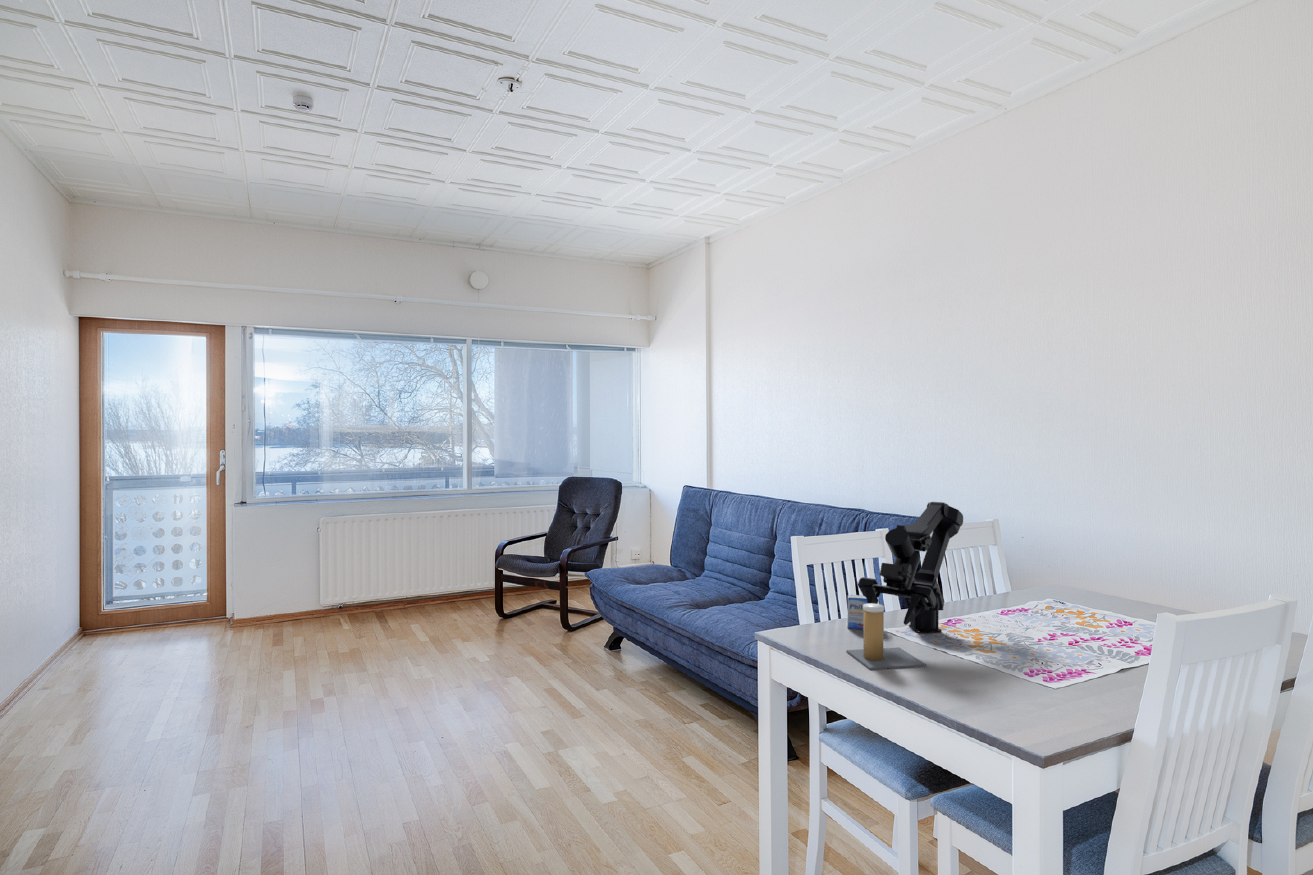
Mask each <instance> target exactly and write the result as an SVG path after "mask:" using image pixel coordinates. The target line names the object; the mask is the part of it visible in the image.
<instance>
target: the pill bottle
mask: <svg viewBox="0 0 1313 875" xmlns="http://www.w3.org/2000/svg"><path fill="white" fill-rule="evenodd" d="M863 610H864V629H863V649H864V653H863V657H864V658H865V659H867V660H872V661H880V660H883V648H884V630H885V628H884V626H885V625H884V622H885V621H884V620H885V619H884V616H885V615H884V612H885V605H883V604H880V603H878V604H873V603H869V604H864V605H863Z"/></svg>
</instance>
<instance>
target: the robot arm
mask: <svg viewBox="0 0 1313 875" xmlns="http://www.w3.org/2000/svg"><path fill="white" fill-rule="evenodd" d="M963 524H964V515H963V513H962V512H961V511H960V510H959V509H958V508H955V507H953V506H950V505H949V504H948V503H946V502H942V501H941V502H940V501H930V502H928V503H927V504H926V508H925V509H924V510H923V512H922V513H921V514H920V515H919V517H918V518H917V519H916V521H915V522H914V523H911V524H907V525H902V524H897V525H896V527H894V528H892V529H891V530H889V531H888V532H887V533H886V534H885V536H884V537H885V542H886V544H887V546H888V548H889V550H890V552H891V555H892V556H893V557H895V560H894V562H893V563H888V562H881V566H880V571H879V576H880V577H882V578H883V579H882V581H883V583H885V584H886V585H883V584H878V582H877V580H876V578H872V577H871V578H870V577H865V576H864V577H863V576H862V577H861V578H860V579H859V580H858V582H857V586H858V589H859V590H860V592H861V594H862V596H865V597H866V598H867V604H869V603H873V604H879V601H880V600H879V598H880V595H881V594H886V595H891V596H896V597H903V598H905V601H906V606H907V607H908V608H907V611H906V614H905V616H904V619H903V624H904V626H907V625H908V627H909V628H911V629H912V630H914V631H916V632H918V633H920V634H924V633H942V631H943V630H942V629H941V628H939V612H940V611H944V606H945V599H944V597H943V595H942V592H941V587H940V585H939V583H938V577H939V573H940V571H941V567H942V564H943V561H944V557H945V554H946V551H947V548H948V545H949V542H950V539H952V538H953V537H954V536H956V535H957V534H958V533H959V531H960V529H961V527H963ZM919 552H924V553H925V554H924V557H923V561H922V562H921V555H920V553H919ZM919 566H920V570H919V571H917V569H918V567H919Z"/></svg>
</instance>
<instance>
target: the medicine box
mask: <svg viewBox="0 0 1313 875" xmlns="http://www.w3.org/2000/svg"><path fill="white" fill-rule="evenodd" d="M864 604H867V598H866V597H865V596H863V595H860V594H848V595H847V629H848V630H849V629H850V630H851V629H852V630H864V610H863V605H864Z"/></svg>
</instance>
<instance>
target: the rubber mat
mask: <svg viewBox="0 0 1313 875" xmlns="http://www.w3.org/2000/svg"><path fill="white" fill-rule="evenodd" d="M845 652H846V654H848V655H849V656H851V657H852V658H853V659H855V660H856V661H857V662H858V663H860V664H862V665H863V666H864V667H865V668H866V669H868V670H870V671H872V670H873V671H874V670H888V669H887V668H892V669H903V668H904V669H906V668H909V669H910V668H923V667H927V663H924V661H922V660H920V659H919V658H917V657H916V656H914V655H912V654H910V652H908V651H906V650H904V649H902V648H901V647H898V646H897V647H883V660H880V661H872V660H867V659H865V658H864V657H863V653H864V648H861V649H847V650H846V651H845Z"/></svg>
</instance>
